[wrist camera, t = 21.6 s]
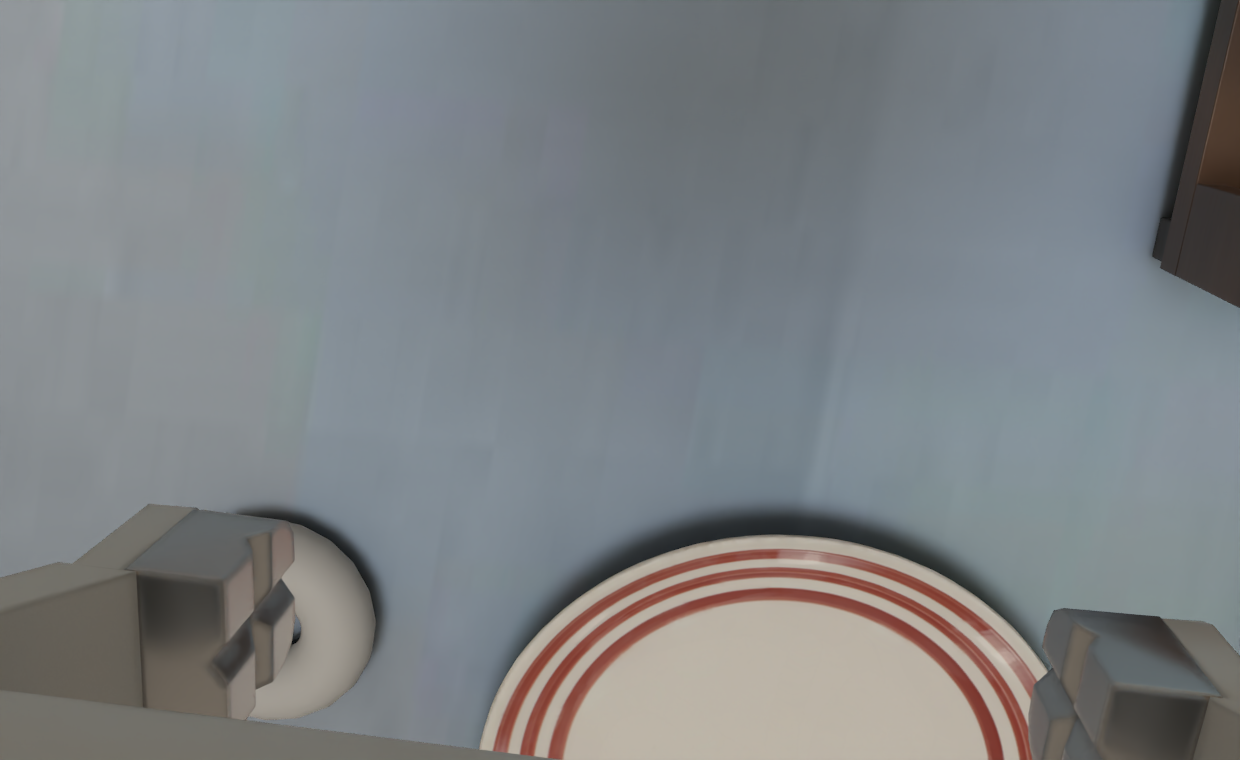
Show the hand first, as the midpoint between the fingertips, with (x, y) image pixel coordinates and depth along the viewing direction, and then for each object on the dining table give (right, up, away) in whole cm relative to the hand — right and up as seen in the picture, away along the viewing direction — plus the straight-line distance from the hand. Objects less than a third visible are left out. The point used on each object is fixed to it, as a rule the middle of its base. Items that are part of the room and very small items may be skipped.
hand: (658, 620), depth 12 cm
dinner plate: (+7, -16, +41) cm, 45 cm away
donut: (-16, -8, +41) cm, 45 cm away
